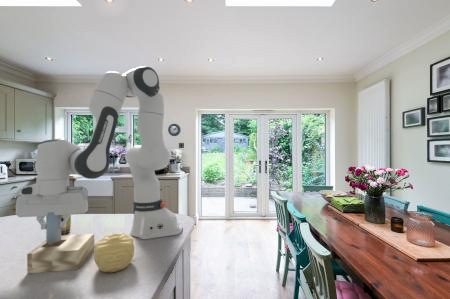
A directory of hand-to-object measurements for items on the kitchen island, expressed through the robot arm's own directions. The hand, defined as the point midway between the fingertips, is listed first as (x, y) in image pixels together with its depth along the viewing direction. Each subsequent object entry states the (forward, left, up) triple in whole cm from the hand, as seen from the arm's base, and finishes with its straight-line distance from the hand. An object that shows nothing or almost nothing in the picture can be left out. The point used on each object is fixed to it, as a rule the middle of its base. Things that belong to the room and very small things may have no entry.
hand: (53, 228), depth 78 cm
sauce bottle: (+10, -28, -11) cm, 32 cm away
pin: (0, 0, -4) cm, 4 cm away
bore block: (-3, 0, -11) cm, 12 cm away
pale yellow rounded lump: (-21, +8, -11) cm, 25 cm away
